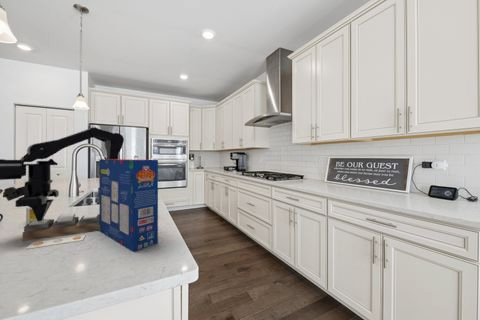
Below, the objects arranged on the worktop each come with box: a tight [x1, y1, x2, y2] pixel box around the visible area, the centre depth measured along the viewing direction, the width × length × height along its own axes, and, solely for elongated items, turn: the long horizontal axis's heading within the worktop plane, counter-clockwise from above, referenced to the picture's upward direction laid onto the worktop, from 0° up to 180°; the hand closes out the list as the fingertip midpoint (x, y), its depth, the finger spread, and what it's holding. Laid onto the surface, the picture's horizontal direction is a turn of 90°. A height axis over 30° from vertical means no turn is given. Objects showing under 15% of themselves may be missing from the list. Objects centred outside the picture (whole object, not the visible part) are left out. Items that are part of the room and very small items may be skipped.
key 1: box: [29, 218, 51, 226], centre depth 73 cm, size 4×4×2 cm
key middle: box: [56, 212, 76, 223], centre depth 76 cm, size 4×4×2 cm
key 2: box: [82, 213, 98, 220], centre depth 80 cm, size 4×4×2 cm
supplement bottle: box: [25, 206, 45, 225], centre depth 88 cm, size 5×5×10 cm
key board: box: [22, 213, 100, 242], centre depth 76 cm, size 22×7×5 cm, turn 119°
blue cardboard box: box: [98, 158, 159, 253], centre depth 72 cm, size 28×8×28 cm, turn 52°
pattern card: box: [25, 234, 86, 250], centre depth 68 cm, size 14×5×1 cm, turn 119°
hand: (39, 220), depth 73 cm, fingers closed
